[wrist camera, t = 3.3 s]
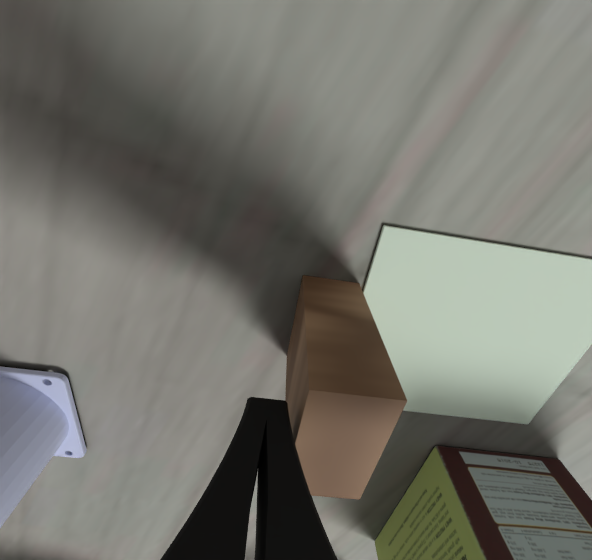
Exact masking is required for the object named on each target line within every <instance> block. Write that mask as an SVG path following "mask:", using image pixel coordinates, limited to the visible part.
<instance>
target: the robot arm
mask: <svg viewBox="0 0 592 560" xmlns="http://www.w3.org/2000/svg"><path fill="white" fill-rule="evenodd" d="M85 453H86V446H85V442H84V438H83V434H82V430H81V427H80V423H79V419H78V415H77V411H76V407H75V403H74V400H73V396H72V392H71V388H70V384H69V380H68V378H67V377H66V376H65V375H64V374H61V373H55V372H46V371H37V370H28V369H19V368H10V367H1V366H0V528H1V527H2V525H3V524H4V522H5V521H6V520H7V518H8V517H9V516H10V514H11V513H12V511H13V510H14V509H15V507H16V506H17V505H18V503H19V502H20V500H21V499H22V498H23V496H24V495H25V494H26V492H27V491H28V490H29V488H30V487H31V485H32V484H33V483H34V481H35V480H36V479H37V477H38V476H39V474H40V473H41V472H42V470H43V469H44V468H45V466H46V465H47V463H48V462H49V461H50V459H51V458H52V457H53V456H63V457H74V458H80V457H83V456H84V454H85ZM257 471H258V488H257V519H256V548H255V560H337V558H336V555H335V553H334V551H333V549H332V546H331V544H330V542H329V539H328V537H327V535H326V532H325V530H324V527H323V525H322V523H321V520H320V518H319V515H318V513H317V510H316V507H315V505H314V502H313V499H312V496H311V494H310V491H309V488H308V485H307V482H306V479H305V476H304V473H303V470H302V466H301V463H300V459H299V456H298V453H297V449H296V445H295V441H294V437H293V433H292V429H291V424H290V418H289V412H288V403H287V402H286V401H283V400H274V399H265V398H255V397H250V398H248V399H247V403H246V407H245V410H244V413H243V416H242V419H241V421H240V424H239V426H238V428H237V431H236V433H235V435H234V437H233V439H232V441H231V444H230V446H229V448H228V450H227V452H226V454H225V456H224V458H223V460H222V462H221V463H220V465H219V467H218V469H217V471H216V473H215V474H214V476H213V478H212V480H211V482H210V483H209V485H208V487H207V489H206V490H205V492H204V494H203V495H202V497H201V499H200V500H199V502H198V504H197V505H196V507H195V508H194V510H193V512H192V513H191V515H190V516H189V518H188V520H187V521H186V523H185V524H184V526H183V527H182V529H181V530H180V532H179V533H178V535H177V536H176V538H175V539H174V541H173V542H172V544H171V545H170V547H169V548H168V550H167V551H166V552H165V554H164V555H163V557H162V558H161V560H244V559H245V550H246V541H247V532H248V523H249V514H250V507H251V502H252V497H253V492H254V486H255V481H256V476H257Z"/></svg>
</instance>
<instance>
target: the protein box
mask: <svg viewBox="0 0 592 560" xmlns="http://www.w3.org/2000/svg"><path fill="white" fill-rule="evenodd" d="M375 546H376V551H377V556H378V560H592V500H591V499H590V498H589V496H588V495H587V494H586V493H585V491H584V490H583V489H582V488H581V486H580V485H579V484H578V482H577V481H576V480H575V479H574V477H573V476H572V475H571V474H570V473H569V471H568V470H567V469H566V468H565V466H564V465H563V464H562V462H561V461H560V460H559V459H555V458H545V457H536V456H528V455H517V454H508V453H499V452H489V451H481V450H472V449H463V448H454V447H444V446H435V447H434V449H433V450H432V452H431V453H430V455H429V457H428V458H427V460H426V462H425V463H424V465H423V466H422V468H421V469H420V471H419V472H418V474H417V476H416V477H415V479H414V480H413V482H412V483H411V485H410V487H409V488H408V490H407V491H406V493H405V494H404V496H403V498H402V499H401V501H400V502H399V504H398V505H397V507H396V508H395V510H394V512H393V513H392V515H391V517H390V518H389V520H388V521H387V523H386V524H385V526H384V527H383V529H382V531H381V532H380V534H379V535H378V537H377V538H376V540H375Z"/></svg>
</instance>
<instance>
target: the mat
mask: <svg viewBox="0 0 592 560" xmlns="http://www.w3.org/2000/svg"><path fill="white" fill-rule="evenodd" d="M363 294H364V296H365V299H366V301H367V304H368V306H369V309H370V311H371V313H372V316H373V318H374V321H375V323H376V326H377V328H378V331H379V333H380V335H381V338H382V340H383V343H384V345H385V348H386V350H387V352H388V355H389V357H390V360H391V362H392V365H393V367H394V370H395V372H396V374H397V377H398V379H399V382H400V384H401V387H402V389H403V392H404V394H405V396H406V399H407V403H406V405H405V407H404V409H403V411H411V412H420V413H429V414H438V415H447V416H456V417H465V418H474V419H483V420H492V421H501V422H510V423H519V424H529V422H530V421H531V420H532V419H533V417H534V416H535V415H536V414H537V412H538V411H539V410H540V409H541V407H542V406H543V405H544V404H545V402H546V401H547V400H548V399H549V397H550V396H551V395H552V393H553V392H554V391H555V390H556V388H557V387H558V386H559V385H560V383H561V382H562V381H563V380H564V378H565V377H566V376H567V375H568V373H569V372H570V371H571V370H572V368H573V367H574V366H575V365H576V363H577V362H578V361H579V360H580V358H581V357H582V356H583V354H584V353H585V352H586V351H587V349H588V348H589V347H590V346H591V344H592V259H590V258H584V257H578V256H572V255H565V254H559V253H553V252H547V251H541V250H535V249H528V248H522V247H516V246H510V245H504V244H498V243H492V242H485V241H479V240H473V239H467V238H461V237H455V236H448V235H442V234H436V233H430V232H424V231H418V230H412V229H405V228H399V227H393V226H387V225H383V227H382V231H381V234H380V237H379V240H378V244H377V247H376V250H375V253H374V256H373V260H372V263H371V266H370V269H369V273H368V276H367V279H366V282H365V286H364V289H363Z"/></svg>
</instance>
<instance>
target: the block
mask: <svg viewBox="0 0 592 560" xmlns="http://www.w3.org/2000/svg"><path fill="white" fill-rule="evenodd" d="M285 401H286V402H287V403H288V412H289V418H290V424H291V429H292V433H293V437H294V441H295V445H296V449H297V453H298V456H299V459H300V463H301V466H302V470H303V473H304V476H305V479H306V482H307V485H308V488H309V491H310V494H311V495H312V496H324V497H336V498H347V499H359V500H360V498H361V496H362V494H363V492H364V490H365V488H366V486H367V483H368V481H369V479H370V477H371V475H372V473H373V471H374V469H375V467H376V465H377V463H378V461H379V459H380V457H381V455H382V452H383V450H384V448H385V446H386V444H387V442H388V440H389V438H390V436H391V434H392V432H393V430H394V428H395V426H396V424H397V421H398V419H399V417H400V415H401V413H402V411H403V409H404V407H405V405H406V403H407V399H406V396H405V394H404V392H403V389H402V387H401V384H400V382H399V379H398V377H397V374H396V372H395V370H394V367H393V365H392V362H391V360H390V357H389V355H388V352H387V350H386V348H385V345H384V343H383V340H382V338H381V335H380V333H379V331H378V328H377V326H376V323H375V321H374V318H373V316H372V313H371V311H370V309H369V306H368V304H367V301H366V299H365V296H364V294H363V292H362V289H361V287H360V284H359V283H354V282H347V281H340V280H333V279H327V278H320V277H313V276H306V275H303V276H302V281H301V287H300V292H299V297H298V302H297V307H296V312H295V317H294V322H293V327H292V332H291V338H290V343H289V348H288V353H287V369H286V400H285Z"/></svg>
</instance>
